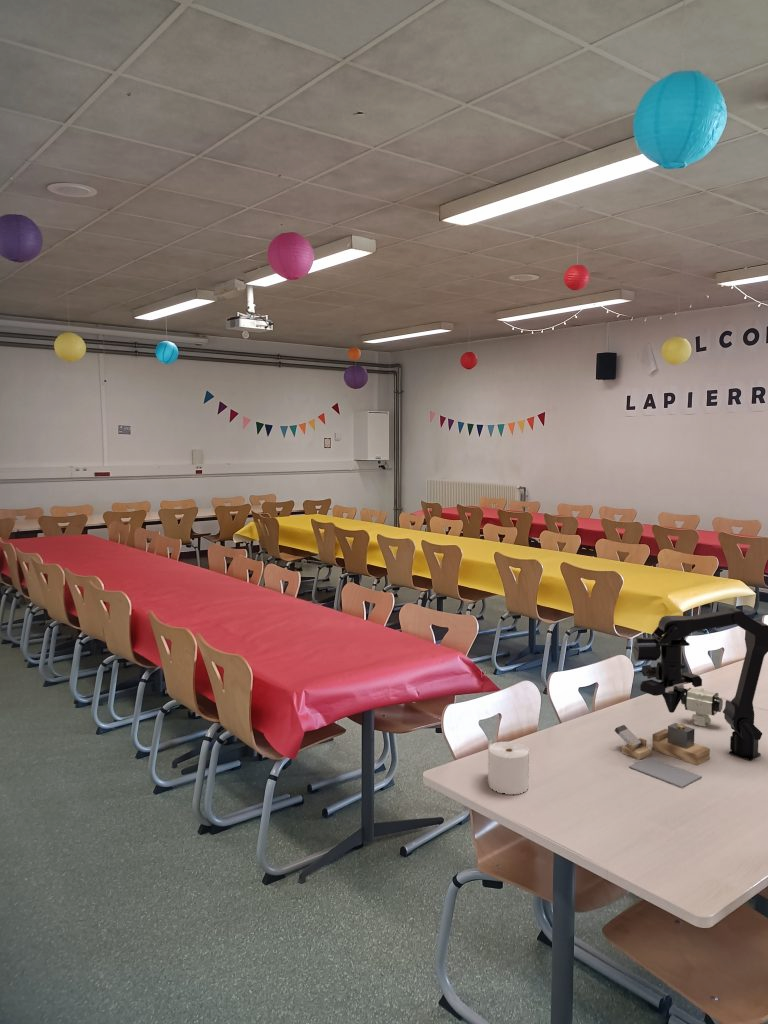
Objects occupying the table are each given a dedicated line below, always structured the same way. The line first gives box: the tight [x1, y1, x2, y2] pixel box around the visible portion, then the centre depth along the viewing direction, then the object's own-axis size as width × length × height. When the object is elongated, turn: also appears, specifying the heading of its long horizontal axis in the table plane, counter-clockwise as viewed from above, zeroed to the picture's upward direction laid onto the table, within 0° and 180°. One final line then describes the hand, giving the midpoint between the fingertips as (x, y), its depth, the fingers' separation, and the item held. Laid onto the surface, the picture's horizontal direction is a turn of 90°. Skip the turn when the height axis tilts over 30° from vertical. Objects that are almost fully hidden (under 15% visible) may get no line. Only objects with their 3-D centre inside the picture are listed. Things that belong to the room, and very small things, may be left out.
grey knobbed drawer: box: [667, 722, 695, 749], centre depth 211 cm, size 6×4×6 cm, turn 38°
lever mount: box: [621, 737, 653, 761], centre depth 211 cm, size 6×7×4 cm
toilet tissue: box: [487, 738, 530, 795], centre depth 192 cm, size 11×12×10 cm
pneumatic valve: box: [680, 687, 724, 728], centre depth 233 cm, size 6×12×12 cm, turn 51°
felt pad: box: [628, 756, 703, 789], centre depth 199 cm, size 16×10×1 cm, turn 38°
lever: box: [614, 724, 642, 748], centre depth 213 cm, size 1×4×8 cm
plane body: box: [651, 728, 711, 766], centre depth 211 cm, size 14×7×5 cm, turn 38°
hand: (671, 712), depth 211 cm, fingers closed
